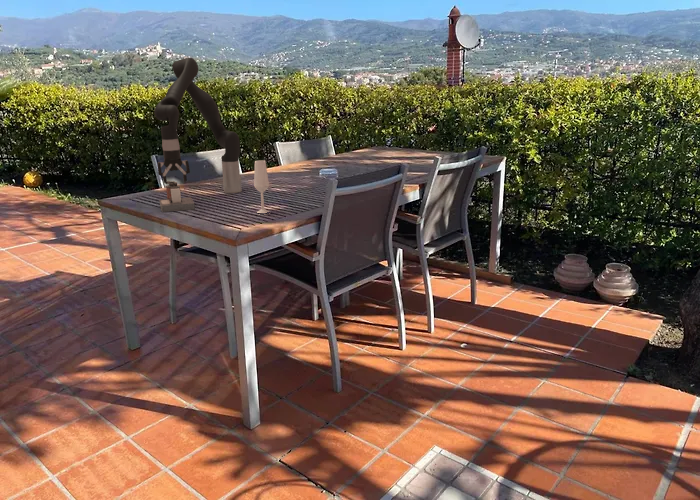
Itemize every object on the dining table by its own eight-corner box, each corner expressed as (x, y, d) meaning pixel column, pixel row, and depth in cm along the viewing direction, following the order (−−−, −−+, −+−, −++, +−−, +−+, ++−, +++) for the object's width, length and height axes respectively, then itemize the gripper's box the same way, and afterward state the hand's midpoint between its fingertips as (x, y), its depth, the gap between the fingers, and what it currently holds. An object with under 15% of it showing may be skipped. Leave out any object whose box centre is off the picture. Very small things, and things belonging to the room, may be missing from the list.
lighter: (182, 200, 264) (180, 181, 261) (178, 201, 261) (176, 182, 258) (169, 199, 267) (167, 180, 263) (165, 200, 263) (163, 181, 260)
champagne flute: (272, 211, 239) (269, 160, 231) (267, 214, 232) (264, 162, 225) (259, 210, 240) (256, 159, 233) (253, 214, 234) (250, 161, 227)
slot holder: (191, 203, 257) (190, 196, 256) (194, 209, 244) (194, 202, 243) (160, 205, 251) (159, 199, 250) (161, 212, 238) (161, 205, 237)
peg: (181, 206, 250) (179, 188, 247) (182, 208, 246) (180, 189, 244) (172, 207, 248) (170, 188, 246) (173, 208, 245) (171, 190, 242)
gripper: (186, 147, 245) (189, 180, 250) (154, 149, 239) (159, 183, 244) (187, 148, 238) (191, 183, 243) (155, 150, 233) (160, 185, 238)
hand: (175, 183), depth 244 cm, fingers open, 8 cm apart
